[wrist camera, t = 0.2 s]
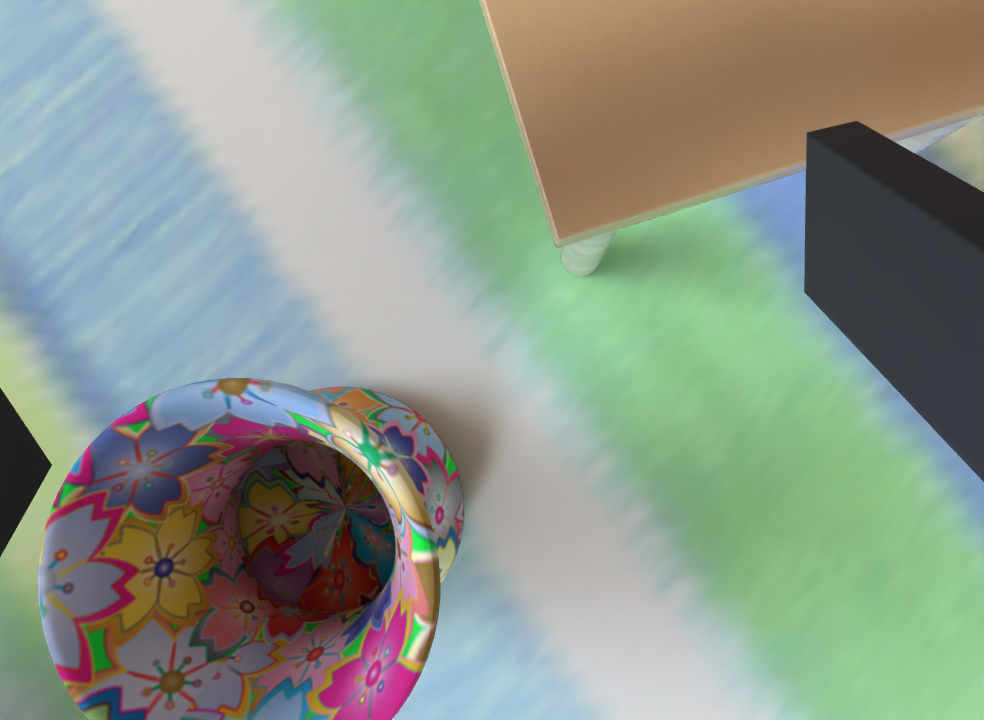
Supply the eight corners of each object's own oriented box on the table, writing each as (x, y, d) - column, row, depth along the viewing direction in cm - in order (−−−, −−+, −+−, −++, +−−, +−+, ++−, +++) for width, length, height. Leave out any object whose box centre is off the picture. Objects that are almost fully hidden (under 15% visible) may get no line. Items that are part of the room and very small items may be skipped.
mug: (290, 331, 29) (141, 309, 18) (522, 445, 28) (509, 491, 18) (147, 629, 29) (-82, 780, 18) (374, 749, 28) (274, 976, 18)
